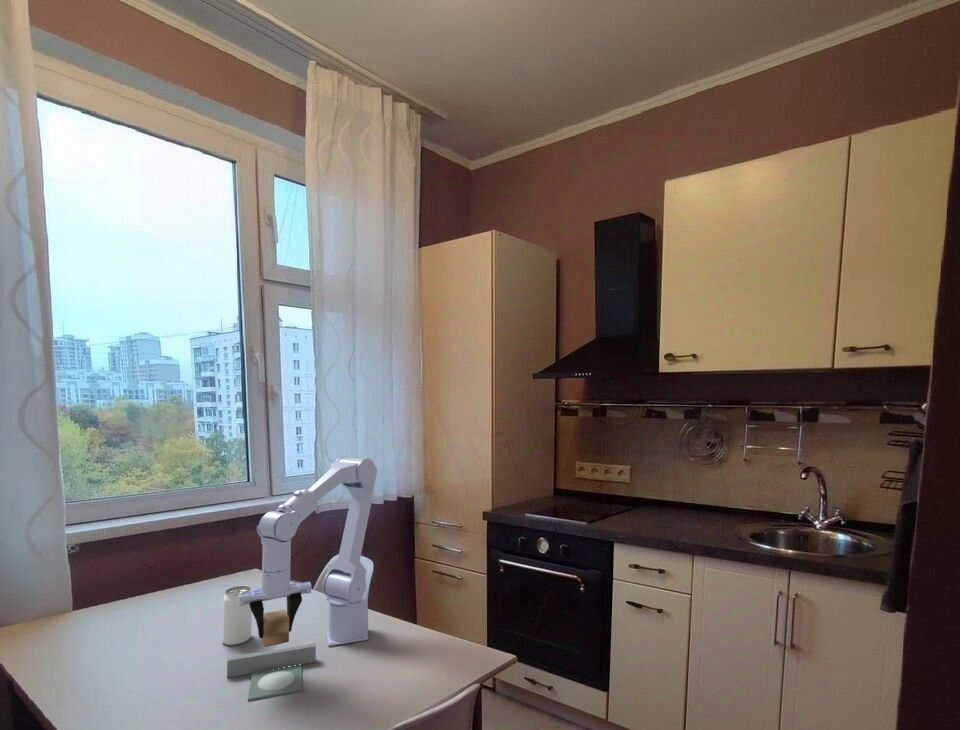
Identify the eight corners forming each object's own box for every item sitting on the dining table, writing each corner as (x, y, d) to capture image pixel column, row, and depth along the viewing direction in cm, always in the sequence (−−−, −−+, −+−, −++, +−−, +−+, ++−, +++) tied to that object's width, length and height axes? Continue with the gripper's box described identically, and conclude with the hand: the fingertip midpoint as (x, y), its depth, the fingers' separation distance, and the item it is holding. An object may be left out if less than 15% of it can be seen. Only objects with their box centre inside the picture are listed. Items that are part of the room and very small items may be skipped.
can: (239, 647, 121) (240, 595, 122) (216, 644, 122) (217, 594, 123) (256, 634, 127) (257, 586, 128) (234, 632, 129) (235, 584, 129)
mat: (301, 666, 112) (301, 664, 112) (301, 690, 103) (301, 688, 103) (252, 675, 109) (252, 672, 109) (247, 701, 99) (247, 698, 99)
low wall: (315, 659, 115) (315, 643, 115) (315, 662, 114) (315, 646, 114) (227, 674, 109) (228, 657, 109) (227, 677, 108) (227, 660, 108)
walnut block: (284, 632, 112) (285, 609, 113) (288, 641, 108) (289, 617, 108) (260, 638, 110) (261, 614, 110) (263, 647, 105) (264, 622, 106)
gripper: (307, 558, 117) (306, 618, 116) (237, 568, 109) (236, 633, 108) (313, 566, 111) (312, 630, 110) (240, 578, 103) (239, 647, 102)
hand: (274, 633), depth 109 cm, fingers closed on walnut block, 5 cm apart
